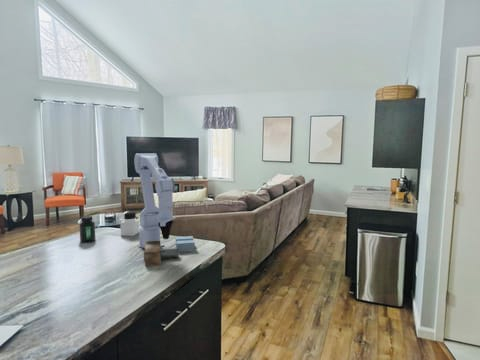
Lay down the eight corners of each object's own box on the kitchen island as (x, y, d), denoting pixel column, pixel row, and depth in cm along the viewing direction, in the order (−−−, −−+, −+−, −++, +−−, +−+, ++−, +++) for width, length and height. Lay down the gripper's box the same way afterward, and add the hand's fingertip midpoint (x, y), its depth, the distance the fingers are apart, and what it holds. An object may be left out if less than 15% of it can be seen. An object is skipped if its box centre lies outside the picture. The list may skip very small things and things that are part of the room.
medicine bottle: (139, 232, 172) (138, 210, 171) (133, 236, 165) (133, 213, 164) (126, 231, 173) (126, 210, 171) (120, 235, 166) (119, 213, 164)
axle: (144, 262, 131) (143, 253, 130) (144, 257, 135) (144, 249, 134) (178, 259, 135) (178, 250, 134) (178, 255, 138) (178, 246, 138)
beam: (145, 265, 126) (144, 252, 126) (146, 253, 140) (146, 241, 139) (160, 264, 128) (160, 251, 127) (160, 252, 141) (160, 240, 141)
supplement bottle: (91, 242, 154) (90, 218, 152) (77, 242, 153) (76, 218, 152) (97, 238, 160) (96, 215, 159) (84, 238, 160) (83, 215, 159)
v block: (176, 252, 142) (176, 243, 142) (175, 245, 152) (175, 237, 151) (194, 251, 144) (194, 242, 143) (192, 244, 154) (192, 236, 153)
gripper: (172, 210, 125) (173, 244, 127) (177, 203, 140) (178, 233, 141) (154, 210, 125) (155, 244, 127) (161, 203, 139) (162, 233, 141)
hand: (166, 238), depth 134 cm, fingers closed
